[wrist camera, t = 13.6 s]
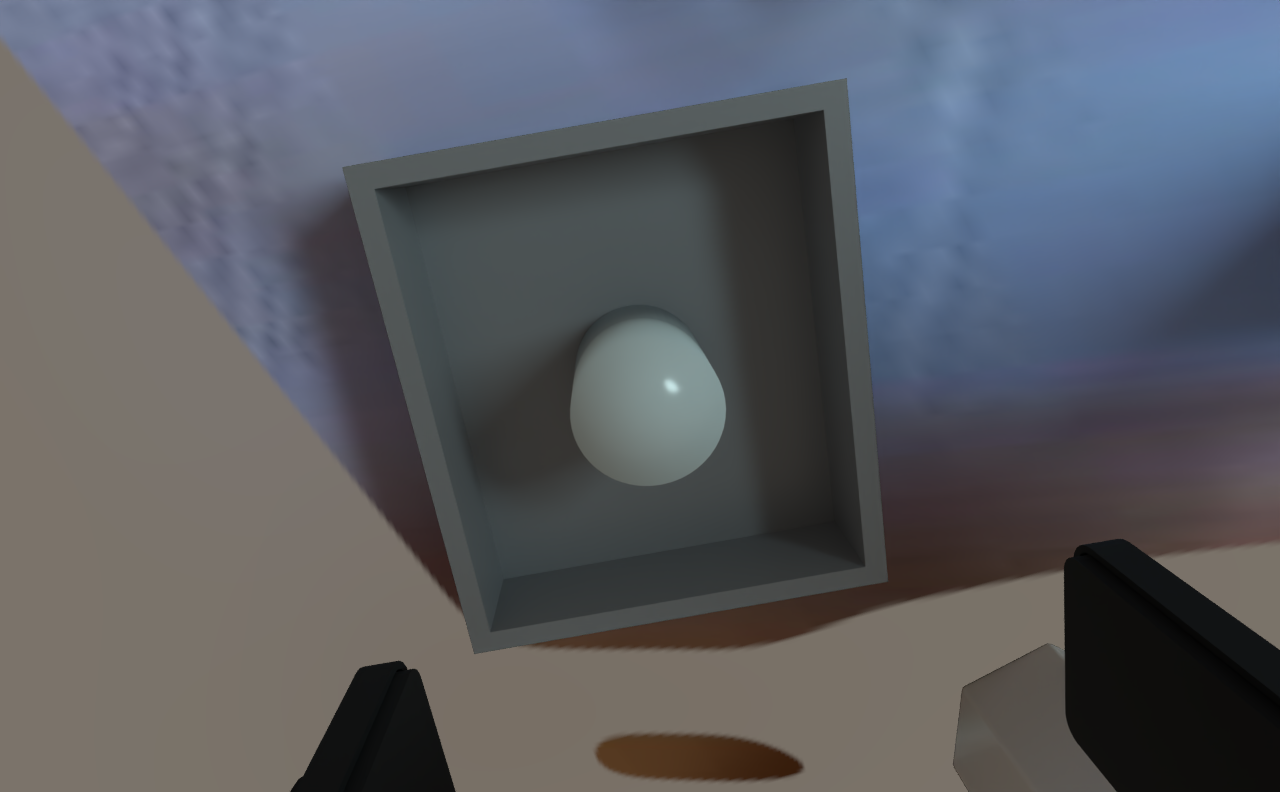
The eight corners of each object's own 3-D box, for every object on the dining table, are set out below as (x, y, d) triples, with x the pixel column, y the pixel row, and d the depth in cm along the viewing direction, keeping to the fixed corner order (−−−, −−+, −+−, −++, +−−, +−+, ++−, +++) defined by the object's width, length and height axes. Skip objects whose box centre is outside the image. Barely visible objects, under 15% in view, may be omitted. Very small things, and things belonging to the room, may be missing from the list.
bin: (808, 93, 28) (846, 78, 23) (850, 528, 33) (887, 581, 29) (382, 168, 28) (342, 167, 23) (491, 591, 33) (474, 653, 29)
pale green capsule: (691, 294, 29) (713, 324, 23) (709, 414, 30) (735, 470, 25) (563, 317, 29) (555, 352, 23) (588, 437, 30) (586, 498, 25)
